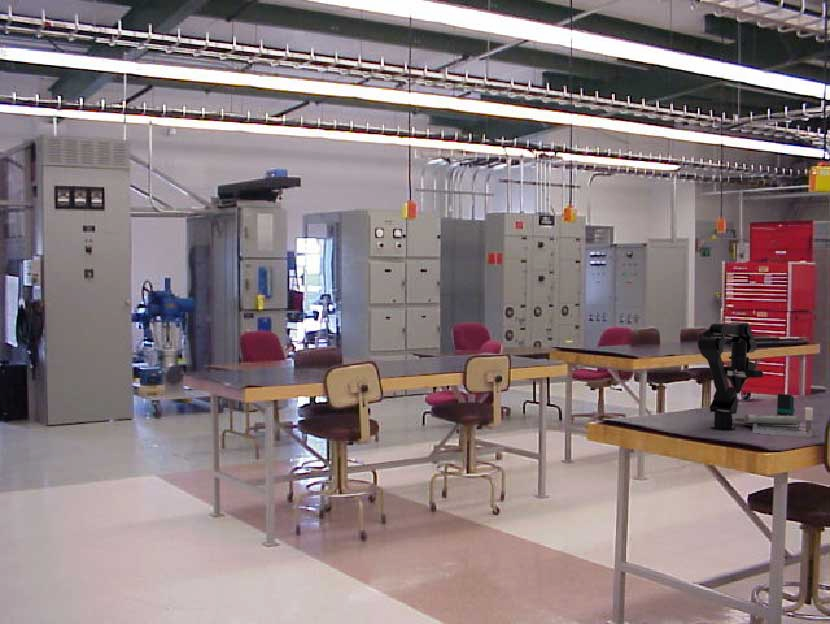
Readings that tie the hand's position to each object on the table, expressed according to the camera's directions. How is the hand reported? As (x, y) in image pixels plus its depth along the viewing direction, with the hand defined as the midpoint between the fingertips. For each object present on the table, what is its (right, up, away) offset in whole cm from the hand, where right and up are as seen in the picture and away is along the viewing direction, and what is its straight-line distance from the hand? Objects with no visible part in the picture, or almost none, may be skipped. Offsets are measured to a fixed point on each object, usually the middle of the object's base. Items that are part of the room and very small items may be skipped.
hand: (737, 393), depth 336 cm
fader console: (+10, -13, -17) cm, 24 cm away
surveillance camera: (+23, -13, +9) cm, 28 cm away
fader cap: (+18, -12, -20) cm, 30 cm away
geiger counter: (+11, -12, +2) cm, 16 cm away
